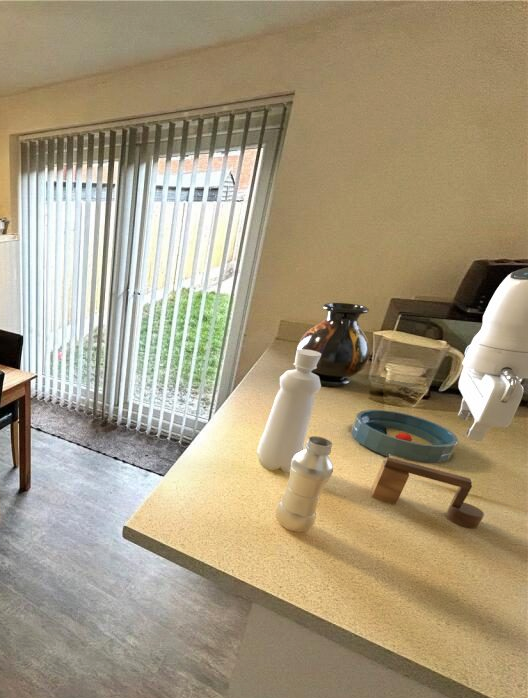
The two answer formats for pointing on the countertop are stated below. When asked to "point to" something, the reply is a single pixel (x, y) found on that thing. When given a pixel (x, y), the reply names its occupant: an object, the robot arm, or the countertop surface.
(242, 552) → the countertop surface
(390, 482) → the wooden toy brick
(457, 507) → the bent rod on disc
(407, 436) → the tomato
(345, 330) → the black vase
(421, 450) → the blue ring
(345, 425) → the countertop surface
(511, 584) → the countertop surface
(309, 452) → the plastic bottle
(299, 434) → the bottle
